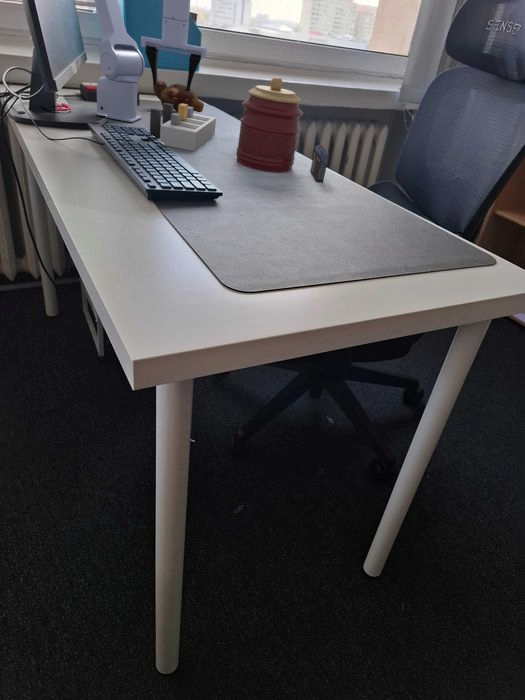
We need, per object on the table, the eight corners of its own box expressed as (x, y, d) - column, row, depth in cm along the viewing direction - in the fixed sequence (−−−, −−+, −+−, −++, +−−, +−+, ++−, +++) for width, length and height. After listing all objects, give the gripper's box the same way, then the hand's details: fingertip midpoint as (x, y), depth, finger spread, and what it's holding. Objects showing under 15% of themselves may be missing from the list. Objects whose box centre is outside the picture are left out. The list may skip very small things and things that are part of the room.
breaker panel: (159, 144, 115) (161, 115, 112) (184, 128, 133) (186, 103, 130) (194, 151, 115) (196, 122, 112) (214, 134, 133) (217, 109, 130)
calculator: (79, 80, 150) (130, 83, 156) (80, 97, 152) (130, 99, 159) (86, 87, 142) (139, 90, 148) (87, 104, 145) (140, 106, 151)
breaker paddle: (177, 118, 121) (178, 104, 119) (180, 116, 123) (181, 103, 121) (183, 119, 121) (184, 106, 119) (187, 118, 123) (187, 104, 121)
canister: (225, 155, 116) (235, 68, 106) (275, 157, 122) (288, 75, 112) (251, 173, 107) (264, 79, 97) (303, 174, 113) (320, 86, 103)
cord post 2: (160, 130, 127) (162, 103, 124) (163, 128, 129) (164, 102, 126) (170, 131, 127) (171, 105, 124) (172, 130, 129) (174, 104, 126)
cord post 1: (148, 137, 119) (149, 109, 116) (151, 135, 121) (152, 107, 118) (158, 139, 119) (159, 111, 116) (161, 137, 121) (162, 109, 118)
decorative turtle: (153, 106, 153) (157, 76, 149) (203, 118, 155) (208, 90, 151) (147, 109, 145) (150, 78, 141) (199, 122, 146) (204, 92, 142)
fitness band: (75, 115, 128) (75, 108, 127) (52, 114, 124) (51, 108, 124) (61, 107, 133) (61, 101, 132) (38, 107, 129) (38, 100, 128)
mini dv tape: (310, 172, 116) (315, 144, 113) (316, 173, 116) (322, 145, 113) (316, 182, 109) (322, 153, 106) (322, 183, 109) (329, 154, 106)
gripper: (139, 13, 108) (138, 84, 116) (208, 26, 110) (202, 95, 118) (144, 13, 114) (142, 80, 121) (208, 25, 116) (203, 90, 124)
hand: (171, 87), depth 120 cm, fingers open, 7 cm apart
